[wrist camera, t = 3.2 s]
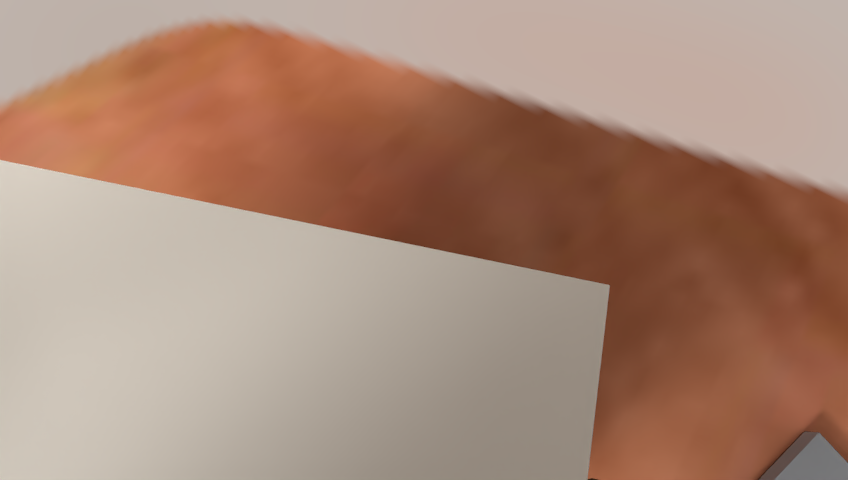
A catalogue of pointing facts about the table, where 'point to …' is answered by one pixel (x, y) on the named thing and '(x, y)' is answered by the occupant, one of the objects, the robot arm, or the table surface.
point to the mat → (809, 461)
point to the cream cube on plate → (275, 347)
